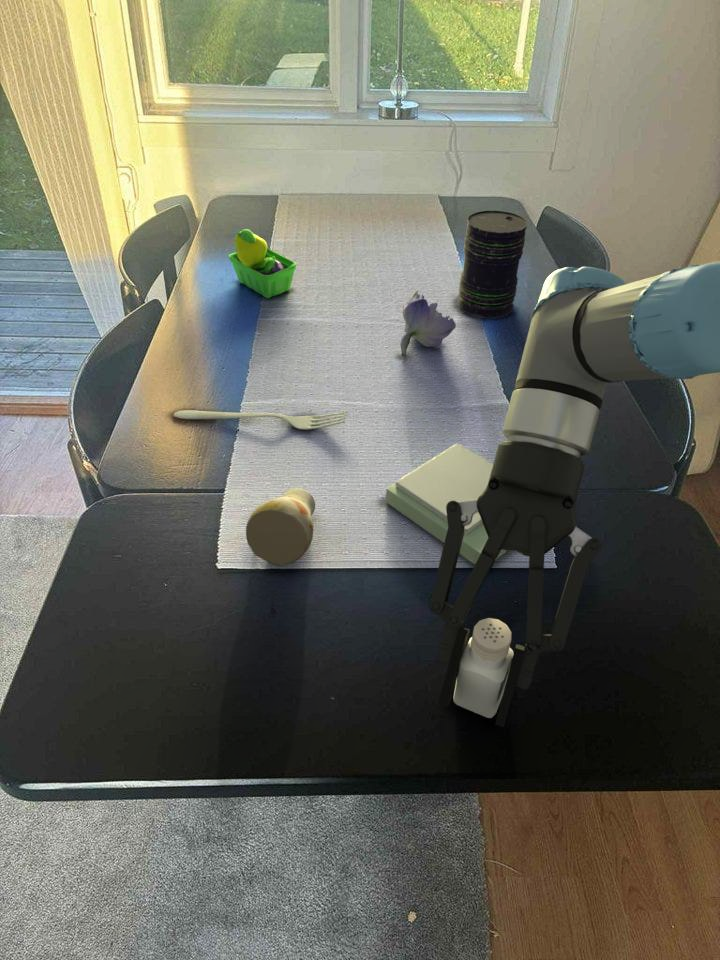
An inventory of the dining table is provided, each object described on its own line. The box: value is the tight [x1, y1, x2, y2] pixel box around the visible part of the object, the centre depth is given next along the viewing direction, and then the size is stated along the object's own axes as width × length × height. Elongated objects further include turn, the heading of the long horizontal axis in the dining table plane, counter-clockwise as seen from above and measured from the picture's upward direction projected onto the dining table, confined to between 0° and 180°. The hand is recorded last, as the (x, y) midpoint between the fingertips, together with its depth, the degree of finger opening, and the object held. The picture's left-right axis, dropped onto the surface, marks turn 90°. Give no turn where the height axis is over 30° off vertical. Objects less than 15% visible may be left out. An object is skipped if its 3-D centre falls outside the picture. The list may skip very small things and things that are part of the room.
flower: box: [400, 289, 457, 357], centre depth 110 cm, size 9×9×10 cm
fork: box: [173, 409, 349, 430], centre depth 96 cm, size 3×24×2 cm, turn 84°
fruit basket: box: [228, 228, 298, 299], centre depth 124 cm, size 11×9×11 cm
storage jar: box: [457, 210, 528, 319], centre depth 119 cm, size 10×10×15 cm
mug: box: [245, 487, 316, 566], centre depth 77 cm, size 8×10×10 cm
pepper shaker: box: [453, 617, 514, 719], centre depth 61 cm, size 4×4×10 cm
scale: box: [385, 443, 509, 566], centre depth 83 cm, size 15×13×3 cm
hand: (472, 711), depth 60 cm, fingers closed on pepper shaker, 4 cm apart
